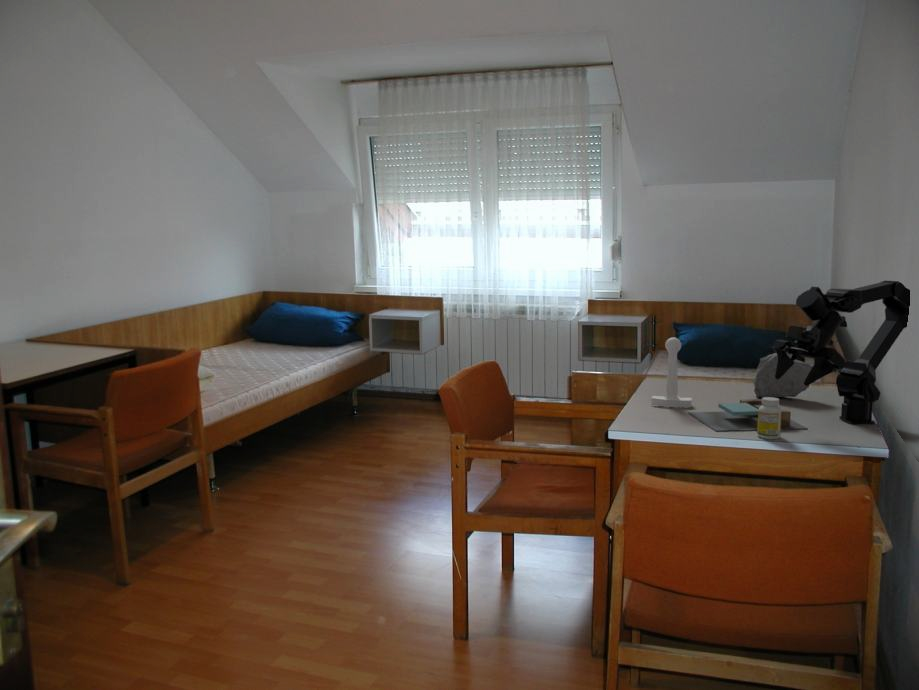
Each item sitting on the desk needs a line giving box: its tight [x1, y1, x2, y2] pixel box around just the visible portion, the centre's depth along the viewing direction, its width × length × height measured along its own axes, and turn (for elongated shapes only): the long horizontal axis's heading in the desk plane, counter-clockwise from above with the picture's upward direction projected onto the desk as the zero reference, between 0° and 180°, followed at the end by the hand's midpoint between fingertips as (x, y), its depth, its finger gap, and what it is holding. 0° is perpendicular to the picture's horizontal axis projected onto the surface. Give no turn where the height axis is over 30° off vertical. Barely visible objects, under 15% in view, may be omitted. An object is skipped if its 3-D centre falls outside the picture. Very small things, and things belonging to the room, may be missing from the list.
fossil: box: [753, 352, 813, 398], centre depth 240 cm, size 17×7×15 cm, turn 69°
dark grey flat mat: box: [688, 398, 808, 433], centre depth 213 cm, size 24×20×4 cm
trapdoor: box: [718, 402, 763, 416], centre depth 213 cm, size 14×10×3 cm
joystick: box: [650, 336, 693, 409], centre depth 232 cm, size 11×8×20 cm
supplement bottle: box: [756, 397, 783, 440], centre depth 197 cm, size 5×5×10 cm
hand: (790, 381), depth 201 cm, fingers open, 9 cm apart
